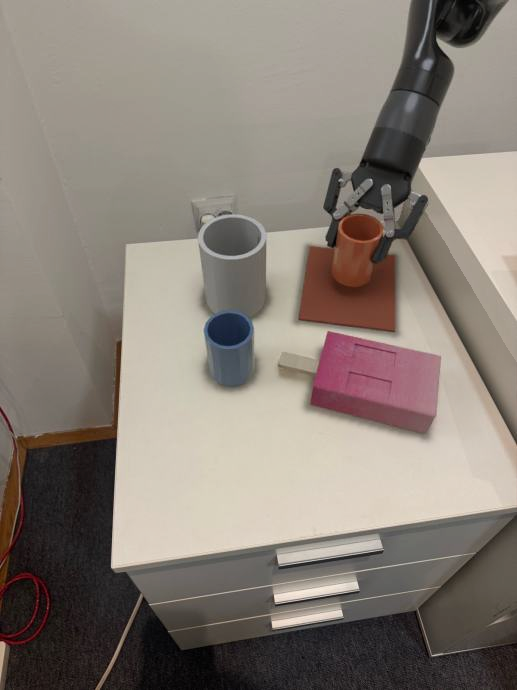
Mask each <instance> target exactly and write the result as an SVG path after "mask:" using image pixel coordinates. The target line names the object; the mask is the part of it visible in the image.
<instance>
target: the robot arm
mask: <svg viewBox="0 0 517 690" xmlns="http://www.w3.org/2000/svg"><path fill="white" fill-rule="evenodd" d="M509 1H510V0H410V3H409V8H408V13H407V14H408V15H407V22H406V30H405V40H404V45H403V50H402V56H401V61H400V65H399V67H398V70H397V72H396V75H395V78H394V81H393V83H392V85H391V88H390V90H389V93H388V94H387V97H386V100H385V101H384V103H383V105H382V107H381V109H380V111H379V113H378V116H377V118H376V121H375V123H374V125H373V129H372V131H371V134H370V136H369V139H368V141H367V144H366V145H365V146H366V147H365V149H364V152H363V154H362V156H361V159H360V161H359V164H358V166H357V168H355V170H353V171H351V172H349V171H344V170H342V169H340V168H339V167H335V168H333V169H332V171H331V174H330V179H329V183H328V187H327V191H326V193H325V197H324V202H323V205H322V206H323V207H322V208H323V210H324V211H325V212H326V213H328V214H329V215H330V217H331V222H330V224H329V227H328V229H327V232H326V234H325V236H324V237H325V242H327V243H326V246H327V248H331V249H335V244H336V238H337V232H338V226H339V222H340V221H341V220H342V218H344V217H346V216H348V215H351V214H354V213H355V212H356V211H357V210H358V209H359V208H362V209H365V210H372V211H373V212H375V213H377V214H380V215H383V221H384V223H383V224H384V233H383V236H382V237H381V240H380V242H379V244H378V247H377V249H376V252H375V254H374V256H373V259H372V263H374V264H377V265H378V263H379V261H381V262H383V261H384V260H385V259H386V256H387V255H389V251H390V249H391V246H392V245H393V242H394V241H396V240H405V241H407V240H408V239H410V237H411V236H412V233H413V232H414V230H415V228H416V227H417V225H418V223H419V222H420V219H421V218H422V216H423V214H424V213H425V211H426V209H427V207H428V206H429V197H428V196H427V195H426V194H422V195H421V194H419V193H416V192H414V191H412V183H413V180H414V178H415V176H416V173H417V170H418V168H419V167H420V164H421V161H422V159H423V156H424V154H425V151H426V149H427V146H428V145H429V144H430V142H431V139H432V135H433V133H434V130H435V127H436V124H437V123H436V122H437V120H438V117H439V113H440V110H441V109H442V106H443V103H444V101H445V98H446V96H447V94H448V91H449V89H450V87H451V84H452V81H453V79H454V76H455V64H454V62H453V60H452V59H451V58H450V57H449V56H448V55H447V54H446V53H445V51H444V50H443V49H442V48H441V47H440V45H439V44H438V40H439V41H441V42H443V43H444V44H446V45H448V46H450V47H452V48H455V49H465V48H469V47H471V46H474V45H476V44H477V43H478V42H479V41H480V40H481V39H482V38H483V37H484V36H485V34H486V33H487V31H488V30H489V28H490V27H491V25H492V23H493V22H494V21H495V19H496V18H497V16H498V15H499V14H500V12H501V11H502V10H503V9H504V8H505V6H506V5H507V4H508V3H509ZM349 182H351V186H352V191H353V192H352V193H351V194H350V195H349V196H348V197H347V198H346V199H345V200H344V201H343V203H342V204H341V205H340V206H339V207H338V208H337V205H338V201H339V197H340V195H341V194H340V193H341V189H342V188H345V187H346V186H347V184H348V183H349ZM408 200H409V202H410V203H409V206H408V207H409V209H410V213H409V215H408V217H407V218H406V220H405V221H404V223H403V225H402V226H401V228H396V214H395V213H396V212H395V211H396V210H395V209H396V208H397V207H398V206H400V205H402V204H403V203H404V202H406V201H408Z"/></svg>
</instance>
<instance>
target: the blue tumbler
mask: <svg viewBox="0 0 517 690" xmlns="http://www.w3.org/2000/svg"><path fill="white" fill-rule="evenodd" d="M203 335H204V342H205V349H206V356H207V363H208V369H209V374H210V376H211V378H212V379H213V381H215V382H216V383H217V384H219V385H221V386H223V387H228V388H229V387H230V388H232V387H234V388H235V387H239V386H241V385H244V384H245V383H247V382H248V381H249V380H250V379H251V378H252V377H253V375H254V372H255V327H254V324H253V321H252V320H251V318H250V317H248V316H247V315H245V314H243V313H241V312H239V311H232V310H227V311H221V312H218V313H216V314H215V313H213V315H211V316H210V317H209V318H208V319H207V320H206V321H205V324H204V326H203Z"/></svg>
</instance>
